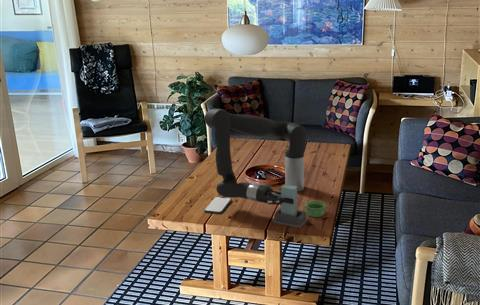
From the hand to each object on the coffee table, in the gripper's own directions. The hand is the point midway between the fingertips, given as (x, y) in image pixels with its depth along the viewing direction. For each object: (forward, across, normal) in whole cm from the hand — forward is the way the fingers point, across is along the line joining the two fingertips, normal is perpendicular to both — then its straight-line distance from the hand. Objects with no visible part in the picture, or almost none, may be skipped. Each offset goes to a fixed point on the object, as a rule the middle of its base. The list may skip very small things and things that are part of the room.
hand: (295, 199), depth 220 cm
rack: (-2, 0, +10) cm, 11 cm away
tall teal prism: (-3, 0, +8) cm, 8 cm away
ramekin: (+5, +12, +11) cm, 17 cm away
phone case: (-39, 0, +11) cm, 41 cm away
